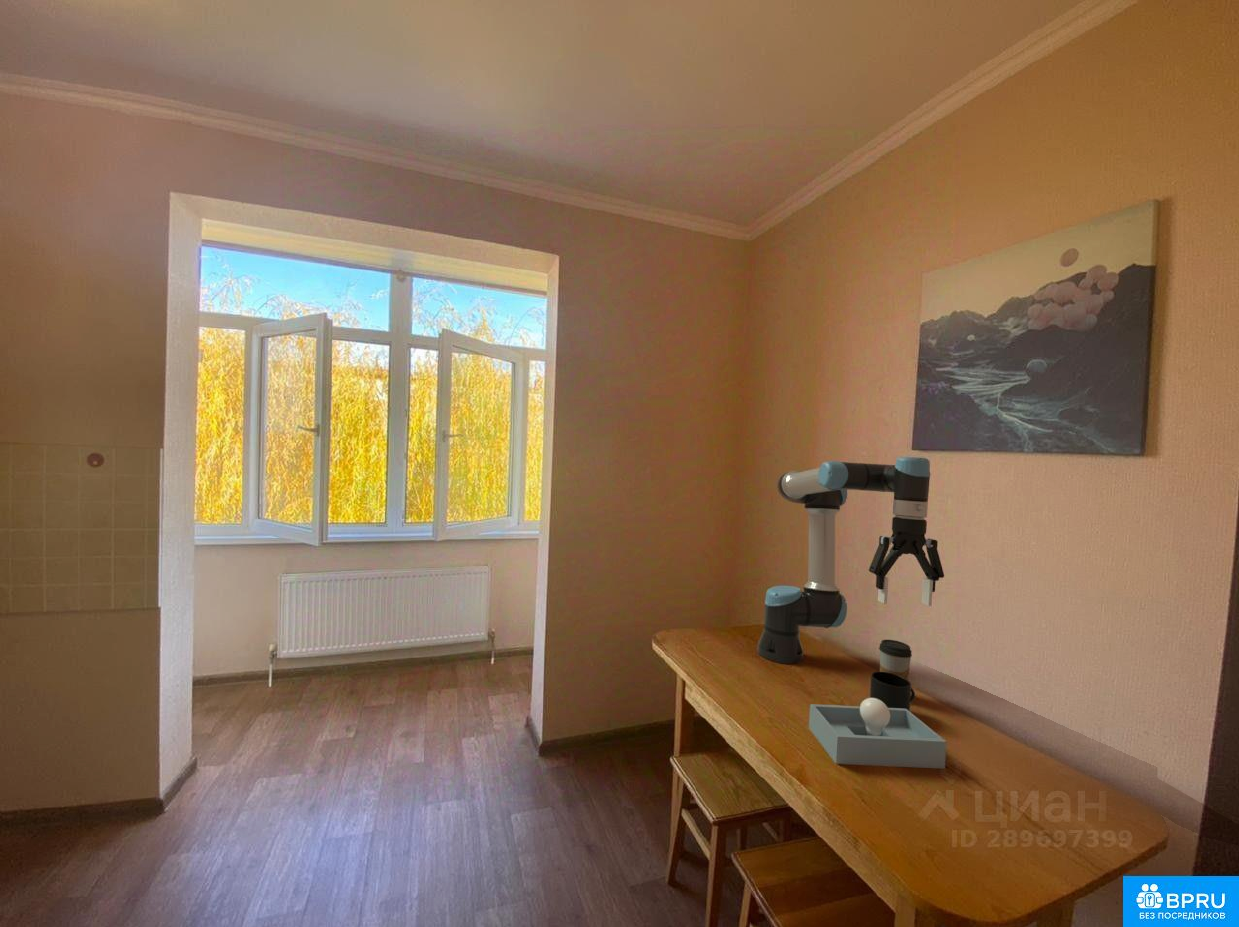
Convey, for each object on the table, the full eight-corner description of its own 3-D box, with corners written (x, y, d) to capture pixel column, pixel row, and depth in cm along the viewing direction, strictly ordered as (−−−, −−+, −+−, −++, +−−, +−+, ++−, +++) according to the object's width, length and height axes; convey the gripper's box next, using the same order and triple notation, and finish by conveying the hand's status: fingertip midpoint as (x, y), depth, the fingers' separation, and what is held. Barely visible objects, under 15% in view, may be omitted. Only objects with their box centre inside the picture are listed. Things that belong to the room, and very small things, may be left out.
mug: (926, 721, 124) (928, 687, 124) (884, 721, 123) (886, 687, 123) (901, 703, 134) (903, 671, 134) (861, 703, 132) (863, 671, 132)
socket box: (808, 727, 118) (810, 704, 118) (904, 732, 118) (906, 708, 118) (835, 763, 104) (837, 736, 104) (944, 768, 104) (946, 741, 104)
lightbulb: (851, 740, 113) (854, 694, 113) (870, 735, 115) (872, 691, 115) (875, 756, 107) (878, 707, 107) (894, 750, 109) (897, 703, 109)
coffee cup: (903, 705, 133) (906, 652, 133) (871, 693, 139) (875, 642, 139) (913, 696, 138) (916, 645, 138) (882, 685, 144) (885, 636, 144)
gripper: (873, 516, 116) (867, 605, 116) (965, 521, 117) (959, 610, 117) (857, 513, 124) (852, 596, 124) (943, 518, 124) (938, 601, 124)
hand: (904, 603), depth 120 cm, fingers open, 11 cm apart
